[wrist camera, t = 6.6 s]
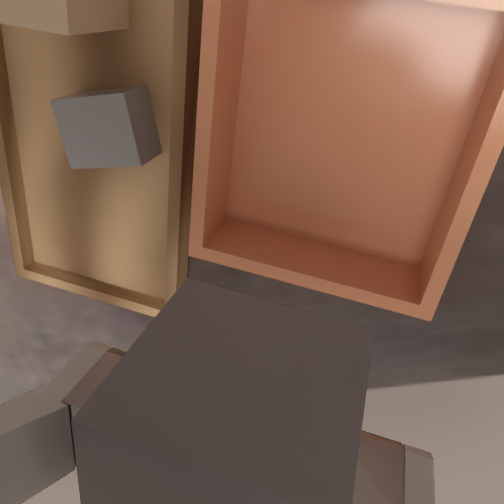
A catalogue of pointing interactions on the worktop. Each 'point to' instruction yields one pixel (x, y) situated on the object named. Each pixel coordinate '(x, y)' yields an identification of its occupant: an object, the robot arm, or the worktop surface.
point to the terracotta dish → (346, 141)
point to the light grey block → (108, 127)
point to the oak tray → (102, 179)
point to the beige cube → (66, 15)
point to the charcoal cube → (227, 407)
